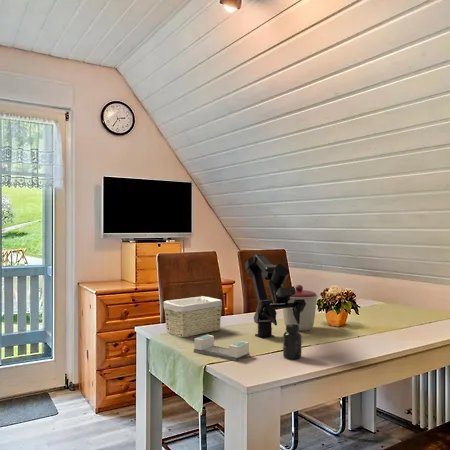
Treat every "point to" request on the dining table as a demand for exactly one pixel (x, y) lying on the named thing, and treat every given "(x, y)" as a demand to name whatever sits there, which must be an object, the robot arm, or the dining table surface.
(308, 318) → the canister
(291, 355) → the supplement bottle
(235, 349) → the module pair
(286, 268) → the robot arm
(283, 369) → the dining table surface
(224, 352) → the rail plate
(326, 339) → the dining table surface
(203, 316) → the storage basket
